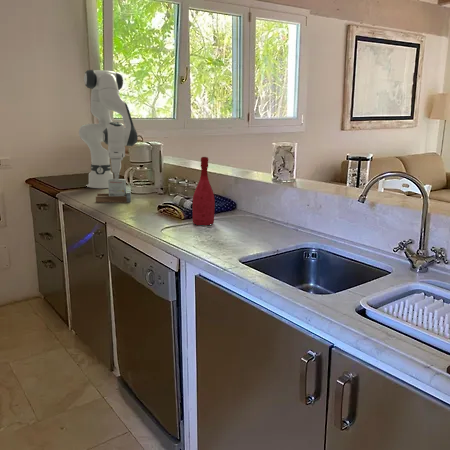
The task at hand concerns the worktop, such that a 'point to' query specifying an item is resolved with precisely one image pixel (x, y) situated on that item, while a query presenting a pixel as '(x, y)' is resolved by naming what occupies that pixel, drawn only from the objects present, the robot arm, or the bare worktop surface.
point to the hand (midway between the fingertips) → (117, 179)
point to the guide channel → (113, 197)
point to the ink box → (117, 187)
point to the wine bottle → (203, 198)
